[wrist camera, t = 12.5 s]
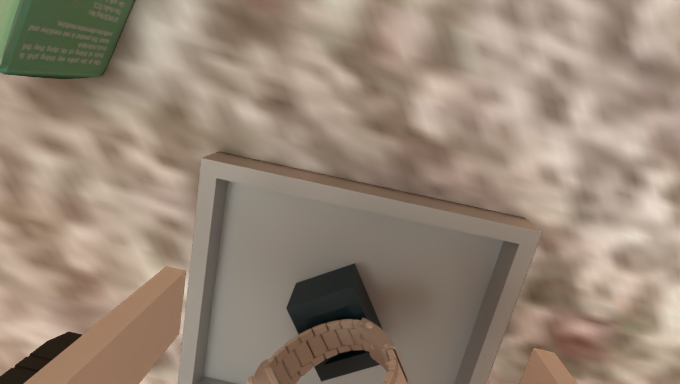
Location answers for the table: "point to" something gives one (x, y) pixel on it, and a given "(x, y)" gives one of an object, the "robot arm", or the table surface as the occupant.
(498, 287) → the tray
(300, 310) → the watch
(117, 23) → the box
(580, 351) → the table surface
